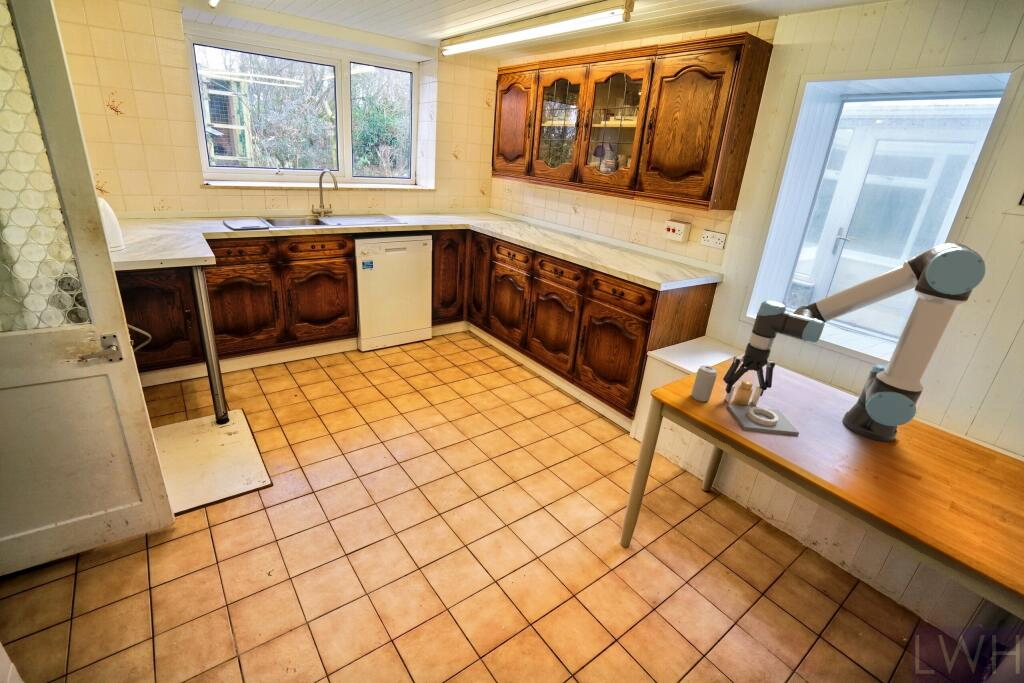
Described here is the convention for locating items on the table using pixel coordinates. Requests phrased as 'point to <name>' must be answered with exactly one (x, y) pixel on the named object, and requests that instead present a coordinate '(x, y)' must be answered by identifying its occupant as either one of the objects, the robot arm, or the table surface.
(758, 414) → the collar board
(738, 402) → the nesting doll
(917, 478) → the table surface
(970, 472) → the table surface
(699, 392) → the beverage can
